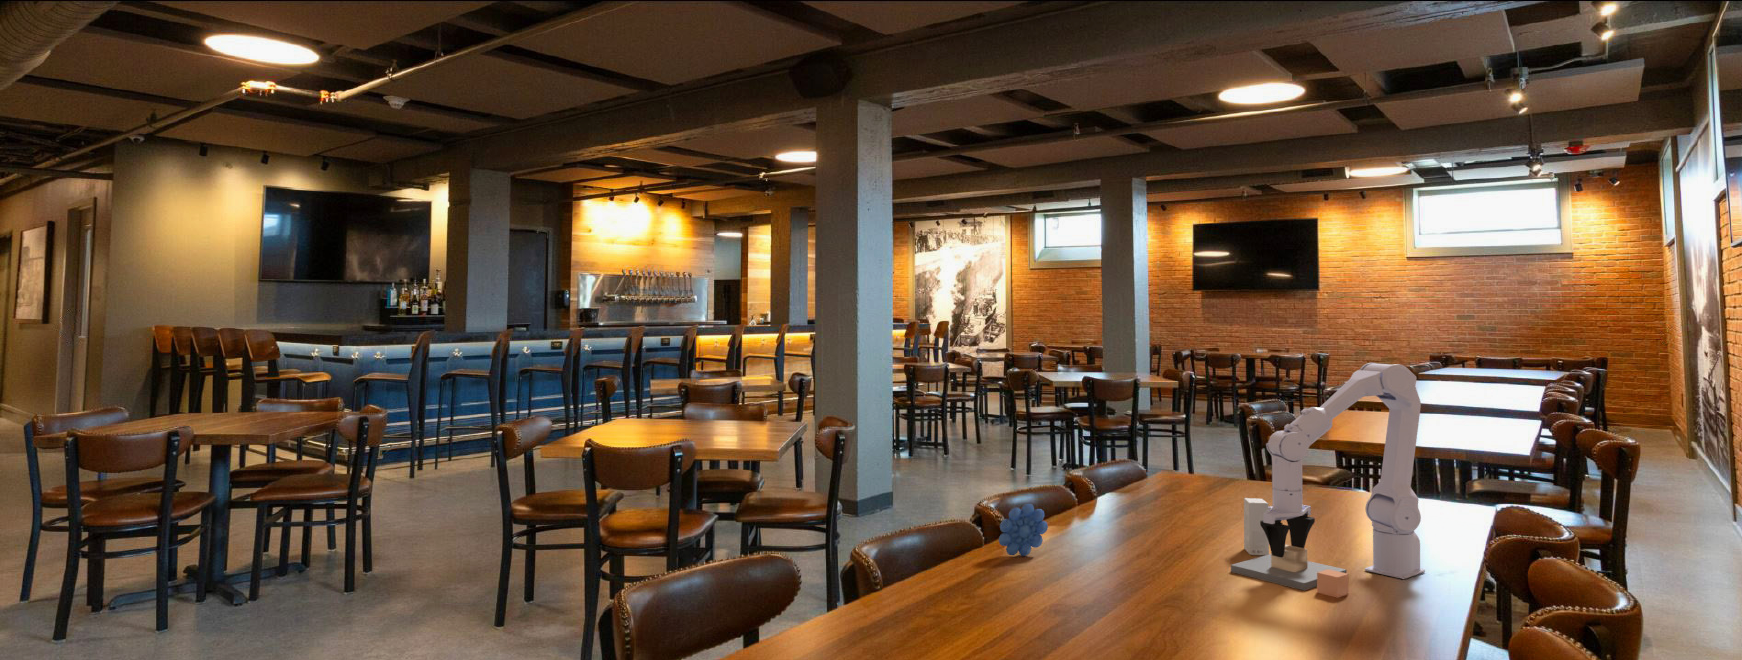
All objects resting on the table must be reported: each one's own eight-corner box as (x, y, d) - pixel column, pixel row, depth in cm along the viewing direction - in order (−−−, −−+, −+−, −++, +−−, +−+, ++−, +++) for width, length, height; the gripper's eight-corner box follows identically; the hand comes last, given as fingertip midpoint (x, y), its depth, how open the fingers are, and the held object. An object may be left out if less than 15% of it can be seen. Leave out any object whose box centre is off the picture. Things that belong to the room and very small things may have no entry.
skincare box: (1269, 556, 195) (1269, 503, 195) (1249, 555, 195) (1249, 502, 195) (1262, 549, 201) (1262, 498, 201) (1243, 548, 201) (1243, 497, 201)
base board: (1273, 559, 191) (1273, 553, 191) (1346, 576, 178) (1346, 569, 178) (1230, 571, 182) (1230, 564, 182) (1304, 590, 169) (1304, 583, 169)
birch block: (1284, 562, 183) (1284, 544, 183) (1307, 568, 179) (1307, 549, 179) (1271, 566, 181) (1271, 547, 181) (1294, 572, 177) (1294, 552, 177)
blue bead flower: (1041, 549, 202) (1041, 499, 202) (1051, 557, 195) (1051, 504, 195) (993, 552, 200) (993, 500, 200) (1002, 560, 194) (1001, 506, 194)
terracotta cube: (1328, 589, 170) (1327, 569, 170) (1348, 594, 167) (1348, 573, 167) (1317, 592, 168) (1317, 572, 168) (1337, 598, 165) (1337, 577, 165)
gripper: (1288, 482, 188) (1288, 544, 188) (1249, 489, 179) (1250, 554, 179) (1320, 487, 182) (1320, 551, 182) (1281, 495, 174) (1282, 562, 174)
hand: (1287, 553), depth 180 cm, fingers open, 7 cm apart
